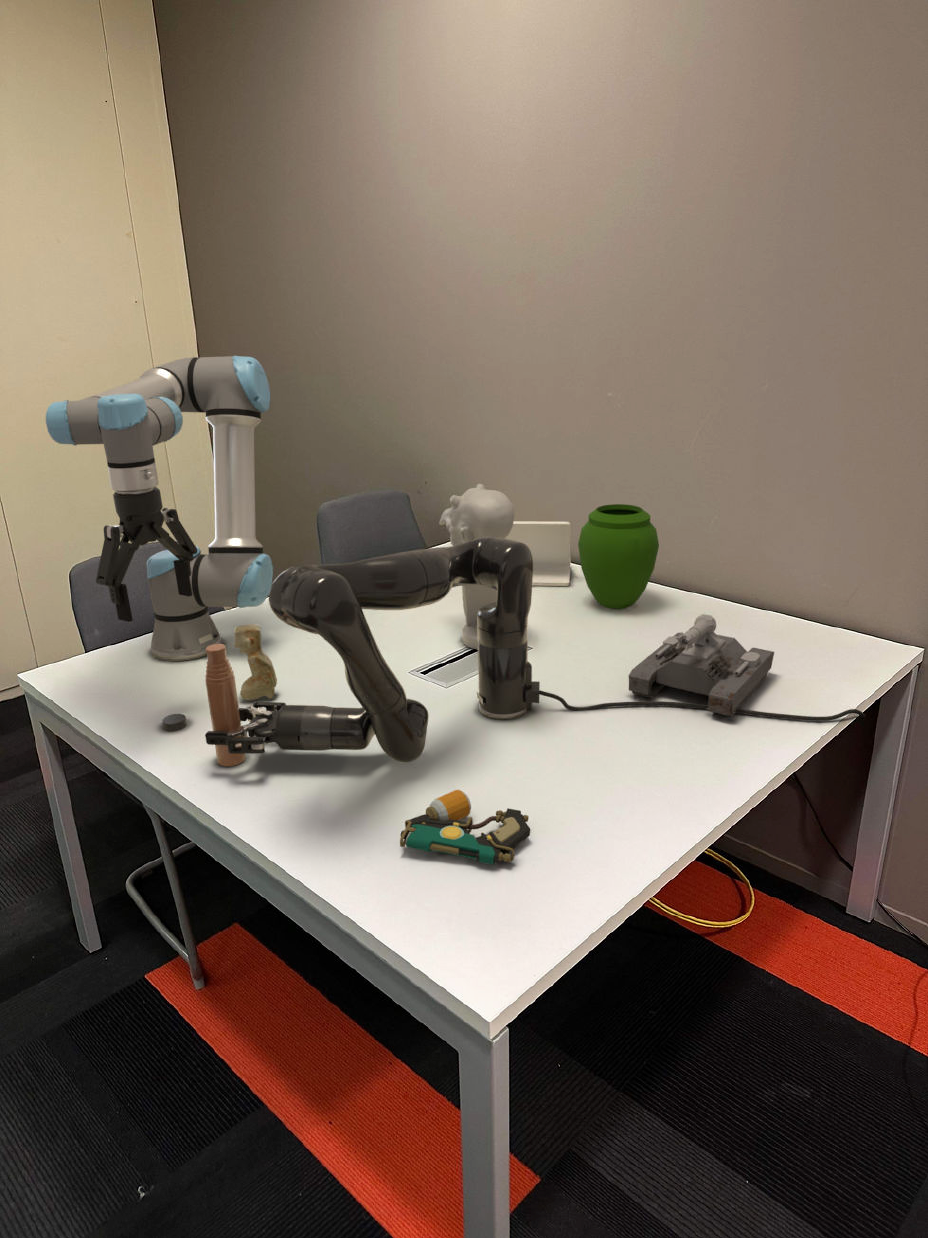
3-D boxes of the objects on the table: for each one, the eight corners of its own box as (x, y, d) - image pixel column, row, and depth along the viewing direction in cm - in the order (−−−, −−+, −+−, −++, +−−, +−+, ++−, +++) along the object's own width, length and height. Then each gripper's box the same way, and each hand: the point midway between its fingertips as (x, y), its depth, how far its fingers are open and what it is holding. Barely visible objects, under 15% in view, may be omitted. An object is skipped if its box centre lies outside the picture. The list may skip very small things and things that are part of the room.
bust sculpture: (484, 611, 212) (481, 471, 200) (536, 643, 192) (537, 489, 180) (426, 624, 205) (419, 479, 193) (474, 658, 185) (470, 499, 173)
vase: (599, 587, 227) (601, 497, 218) (668, 600, 216) (673, 505, 208) (562, 608, 212) (564, 513, 204) (634, 623, 202) (639, 523, 193)
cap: (158, 730, 158) (157, 723, 157) (170, 720, 162) (169, 712, 161) (179, 732, 157) (178, 724, 157) (190, 721, 161) (189, 714, 160)
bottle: (223, 752, 150) (207, 641, 142) (249, 753, 149) (234, 642, 142) (213, 766, 145) (195, 652, 138) (239, 767, 145) (223, 653, 137)
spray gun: (542, 834, 125) (490, 895, 113) (446, 797, 133) (389, 850, 122) (543, 810, 123) (491, 869, 112) (446, 774, 131) (388, 826, 120)
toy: (678, 653, 184) (682, 588, 179) (772, 674, 173) (779, 604, 168) (627, 697, 165) (630, 625, 160) (729, 723, 154) (736, 646, 149)
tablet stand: (569, 585, 229) (570, 524, 223) (476, 584, 232) (475, 523, 226) (570, 566, 246) (571, 508, 240) (484, 564, 249) (483, 507, 243)
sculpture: (243, 691, 172) (234, 622, 167) (279, 689, 173) (271, 620, 168) (239, 704, 167) (229, 633, 162) (276, 701, 168) (268, 630, 162)
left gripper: (87, 508, 132) (112, 635, 140) (206, 476, 152) (222, 588, 160) (56, 504, 136) (82, 627, 143) (176, 472, 156) (194, 582, 163)
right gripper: (318, 689, 149) (228, 687, 150) (295, 728, 135) (196, 725, 137) (321, 727, 151) (233, 725, 153) (299, 769, 138) (202, 766, 140)
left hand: (156, 607), depth 152 cm, fingers open, 13 cm apart
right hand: (216, 725), depth 145 cm, fingers open, 8 cm apart
